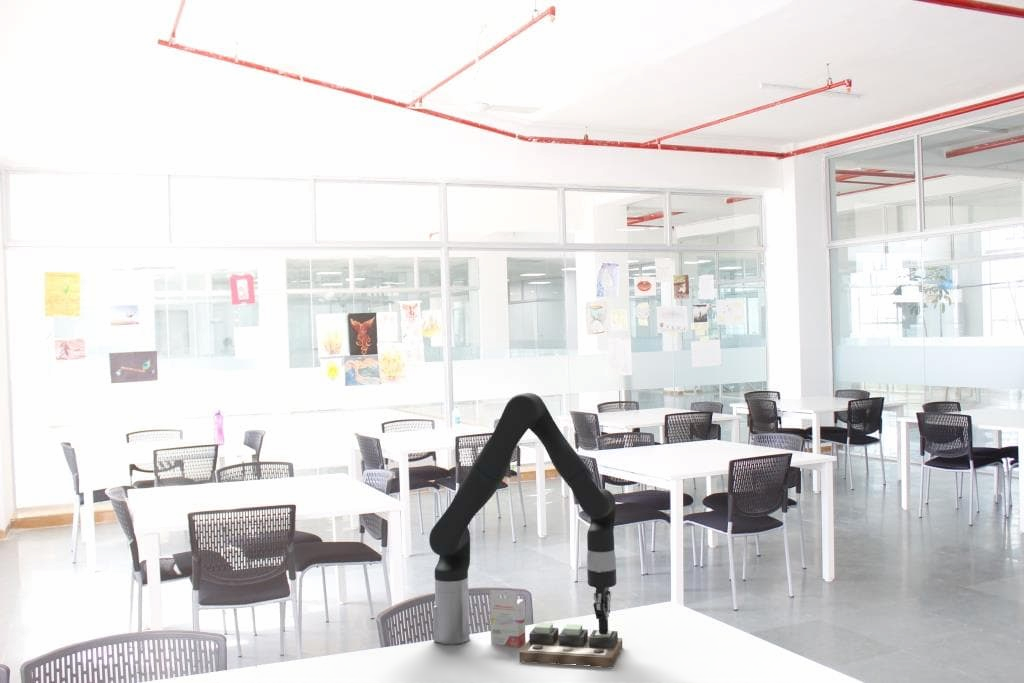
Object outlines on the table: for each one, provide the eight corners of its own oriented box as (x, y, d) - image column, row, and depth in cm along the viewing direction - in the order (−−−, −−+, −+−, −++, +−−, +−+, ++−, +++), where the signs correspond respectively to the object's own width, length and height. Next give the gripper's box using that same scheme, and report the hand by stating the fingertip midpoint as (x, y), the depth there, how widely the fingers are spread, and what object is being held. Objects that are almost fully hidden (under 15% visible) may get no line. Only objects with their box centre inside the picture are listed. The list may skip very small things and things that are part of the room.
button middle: (564, 636, 245) (564, 628, 245) (567, 631, 249) (567, 624, 249) (579, 637, 244) (579, 629, 244) (582, 632, 248) (582, 625, 248)
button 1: (534, 634, 247) (534, 627, 247) (538, 630, 251) (538, 622, 251) (549, 635, 246) (549, 627, 246) (553, 630, 250) (552, 623, 250)
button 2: (594, 642, 243) (594, 634, 243) (597, 637, 246) (597, 630, 246) (609, 643, 241) (609, 635, 242) (612, 638, 245) (612, 631, 245)
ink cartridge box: (526, 642, 255) (524, 588, 255) (519, 647, 251) (518, 592, 251) (497, 639, 258) (496, 585, 259) (490, 644, 254) (488, 590, 254)
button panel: (519, 661, 239) (519, 642, 239) (535, 642, 255) (534, 624, 255) (612, 667, 233) (611, 647, 233) (622, 647, 248) (621, 628, 248)
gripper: (592, 560, 251) (594, 625, 251) (582, 572, 239) (584, 640, 239) (619, 561, 249) (621, 626, 249) (611, 573, 237) (613, 641, 237)
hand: (603, 633), depth 244 cm, fingers closed
